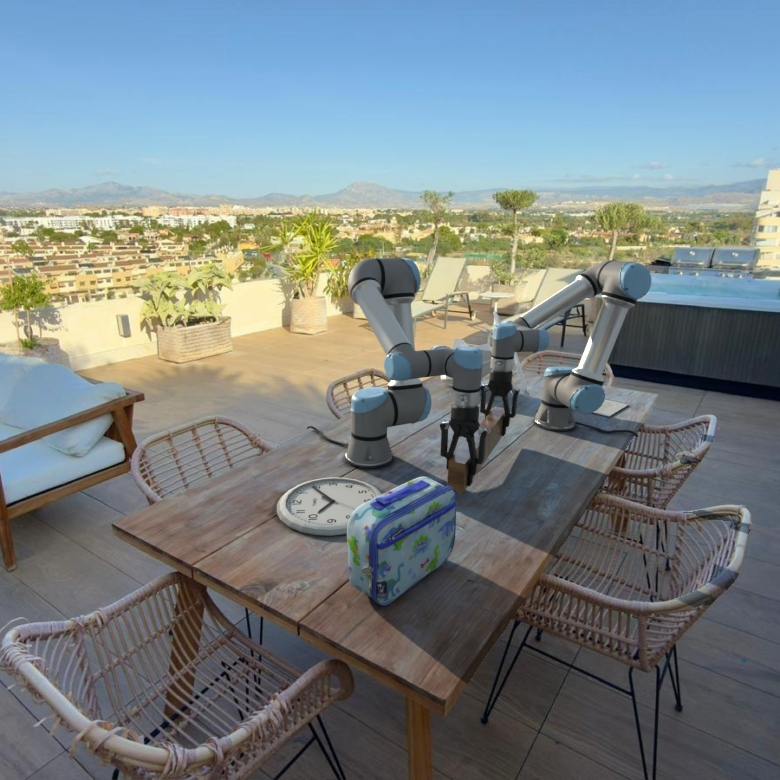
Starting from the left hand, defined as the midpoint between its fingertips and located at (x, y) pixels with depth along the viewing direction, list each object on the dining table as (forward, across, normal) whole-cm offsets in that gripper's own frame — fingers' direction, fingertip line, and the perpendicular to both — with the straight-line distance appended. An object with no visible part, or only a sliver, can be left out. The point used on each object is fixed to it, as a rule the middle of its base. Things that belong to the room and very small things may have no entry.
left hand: (460, 481), depth 148 cm
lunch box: (+4, 0, -41) cm, 41 cm away
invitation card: (+4, +31, +103) cm, 107 cm away
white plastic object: (+4, -22, +98) cm, 101 cm away
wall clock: (+4, -30, -21) cm, 37 cm away
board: (+1, 0, +20) cm, 21 cm away
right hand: (0, 0, +41) cm, 41 cm away
